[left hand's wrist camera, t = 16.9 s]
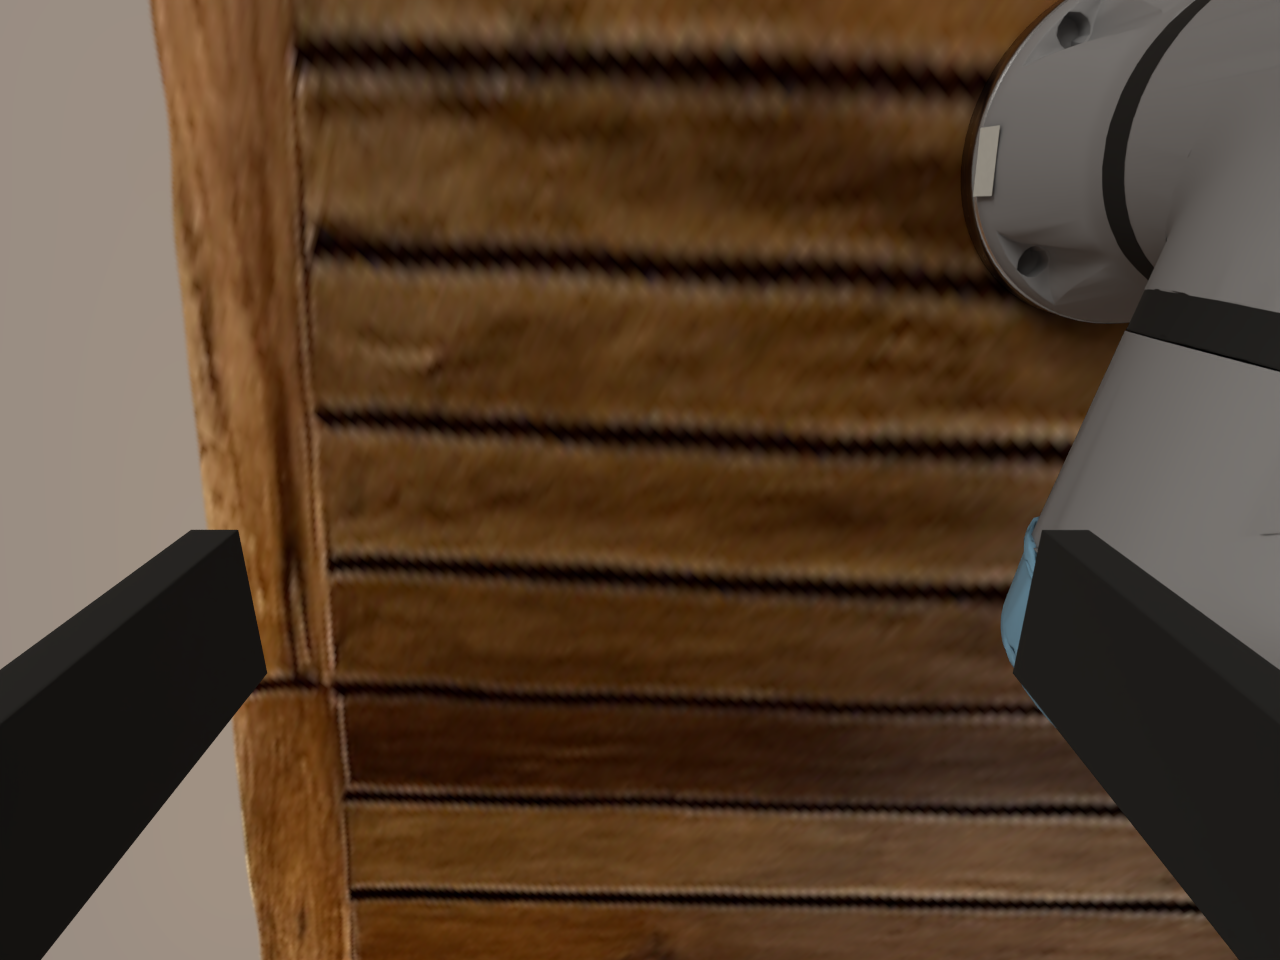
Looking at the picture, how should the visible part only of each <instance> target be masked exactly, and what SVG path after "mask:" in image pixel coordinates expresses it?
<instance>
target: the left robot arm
mask: <svg viewBox="0 0 1280 960" xmlns="http://www.w3.org/2000/svg"><path fill="white" fill-rule="evenodd" d="M961 195H962V205H963V210H964V216H965V221H966V224H967V227H968V231H969V234H970V237H971V239H972V241H973V244H974V246H975V248H976V250H977V252H978V254H979V256H980V257H981V259H982V261H983V263H984V264H985V265H986V267H987V268H988V270H989V271H990V272H991V274H992V275H993V276H994V277H995V278H996V279H997V280H998V281H999V282H1000V284H1001V285H1003V286H1004V287H1005V288H1006V289H1007V290H1008V291H1010V292H1011V293H1012V294H1013V295H1015V296H1016V297H1018V298H1019V299H1021V300H1022V301H1024V302H1026V303H1028V304H1030V305H1031V306H1033V307H1035V308H1038V309H1040V310H1043V311H1046V312H1048V313H1052V314H1055V315H1059V316H1063V317H1066V318H1070V319H1074V320H1078V321H1084V322H1090V323H1104V324H1112V323H1127V322H1130V323H1129V325H1128V327H1127V329H1126V330H1129V331H1131V332H1129V331H1125V332H1124V334H1123V336H1122V338H1121V341H1120V343H1119V345H1118V347H1117V349H1116V352H1115V354H1114V356H1113V358H1112V360H1111V362H1110V365H1109V367H1108V369H1107V371H1106V373H1105V375H1104V378H1103V380H1102V382H1101V384H1100V386H1099V388H1098V391H1097V393H1096V395H1095V397H1094V399H1093V402H1092V404H1091V406H1090V408H1089V410H1088V412H1087V415H1086V417H1085V419H1084V421H1083V423H1082V425H1081V428H1080V430H1079V432H1078V434H1077V436H1076V438H1075V441H1074V443H1073V445H1072V447H1071V449H1070V451H1069V454H1068V456H1067V458H1066V460H1065V462H1064V465H1063V467H1062V469H1061V471H1060V473H1059V475H1058V478H1057V480H1056V482H1055V484H1054V486H1053V488H1052V491H1051V493H1050V495H1049V497H1048V499H1047V501H1046V504H1045V506H1044V508H1043V510H1042V512H1041V515H1040V516H1039V517H1036V518H1034V519H1033V520H1032V522H1031V523H1030V525H1029V526H1028V528H1027V531H1026V534H1025V538H1024V553H1023V556H1022V558H1021V561H1020V563H1019V566H1018V569H1017V571H1016V574H1015V576H1014V579H1013V582H1012V584H1011V587H1010V589H1009V592H1008V595H1007V597H1006V600H1005V602H1004V605H1003V610H1002V614H1001V635H1002V641H1003V645H1004V647H1005V650H1006V653H1007V655H1008V658H1009V661H1010V663H1011V664H1012V666H1013V667H1014V670H1013V674H1014V675H1015V677H1016V678H1017V679H1018V680H1019V682H1020V683H1021V684H1022V686H1023V688H1024V689H1025V691H1026V692H1027V694H1028V695H1029V696H1030V698H1031V699H1032V701H1033V702H1034V703H1035V704H1036V706H1037V707H1038V708H1039V709H1040V711H1041V712H1042V713H1043V714H1044V715H1045V716H1046V718H1047V719H1048V720H1049V721H1050V722H1051V723H1052V724H1053V725H1054V726H1055V728H1056V729H1057V730H1058V731H1059V732H1060V734H1061V735H1062V736H1063V737H1064V739H1065V740H1066V741H1067V742H1068V744H1069V745H1070V746H1071V747H1072V749H1073V750H1074V751H1075V753H1076V754H1077V755H1078V756H1079V758H1080V759H1081V760H1082V761H1083V763H1084V764H1085V765H1086V766H1087V768H1088V769H1089V770H1090V772H1091V773H1092V774H1093V775H1094V777H1095V778H1096V779H1097V780H1098V782H1099V783H1100V784H1101V785H1102V787H1103V788H1104V789H1105V791H1106V792H1107V793H1108V794H1109V796H1110V797H1111V798H1112V799H1113V801H1114V802H1115V803H1116V804H1117V806H1118V807H1119V808H1120V810H1121V811H1122V812H1123V813H1124V815H1125V816H1126V817H1127V818H1128V820H1129V821H1130V822H1131V823H1132V825H1133V826H1134V827H1135V828H1136V830H1137V831H1138V832H1139V834H1140V835H1141V836H1142V837H1143V839H1144V840H1145V841H1146V842H1147V844H1148V845H1149V846H1150V847H1151V849H1152V850H1153V851H1154V853H1155V854H1156V855H1157V856H1158V858H1159V859H1160V860H1161V861H1162V863H1163V864H1164V865H1165V866H1166V868H1167V869H1168V870H1169V872H1170V873H1171V874H1172V875H1173V877H1174V878H1175V879H1176V880H1177V882H1178V883H1179V884H1180V885H1181V887H1182V888H1183V889H1184V891H1185V892H1186V893H1187V894H1188V896H1189V897H1190V898H1191V899H1192V901H1193V902H1194V903H1195V904H1196V906H1197V907H1198V908H1199V910H1200V911H1201V912H1202V913H1203V915H1204V916H1205V917H1206V918H1207V920H1208V921H1209V922H1210V923H1211V925H1212V926H1213V927H1214V929H1215V930H1216V931H1217V932H1218V934H1219V935H1220V936H1221V937H1222V939H1223V940H1224V941H1225V942H1226V944H1227V945H1228V946H1229V948H1230V949H1231V950H1232V951H1233V953H1234V954H1235V955H1236V956H1237V958H1238V959H1239V960H1280V0H1059V1H1057V2H1056V3H1055V4H1053V5H1052V6H1051V7H1049V8H1048V9H1047V10H1045V11H1044V12H1043V13H1042V14H1041V15H1040V16H1039V17H1038V18H1036V19H1035V20H1034V21H1033V22H1032V23H1031V24H1030V25H1029V26H1028V27H1027V28H1026V29H1025V30H1024V31H1023V32H1022V33H1021V34H1020V35H1019V37H1018V38H1017V39H1016V40H1015V41H1014V43H1013V44H1012V45H1011V46H1010V48H1009V49H1008V50H1007V51H1006V53H1005V54H1004V55H1003V57H1002V58H1001V60H1000V61H999V63H998V64H997V66H996V67H995V69H994V70H993V72H992V74H991V76H990V77H989V79H988V81H987V83H986V84H985V86H984V89H983V91H982V93H981V95H980V97H979V99H978V101H977V104H976V107H975V109H974V112H973V115H972V118H971V120H970V124H969V128H968V131H967V135H966V139H965V144H964V150H963V155H962V166H961ZM1170 341H1171V342H1170ZM1174 342H1175V343H1174ZM1178 343H1179V344H1178ZM1182 344H1183V345H1182ZM1186 345H1187V346H1186ZM266 674H267V670H266V665H265V660H264V655H263V650H262V645H261V640H260V635H259V630H258V625H257V621H256V616H255V611H254V606H253V601H252V596H251V591H250V586H249V581H248V576H247V571H246V566H245V561H244V557H243V552H242V547H241V542H240V537H239V532H238V530H190V531H189V532H188V533H186V534H185V535H184V536H182V537H181V538H179V539H178V540H177V541H175V542H174V543H173V544H171V545H170V546H169V547H167V548H166V549H164V550H163V551H162V552H160V553H159V554H158V555H156V556H155V557H154V558H152V559H151V560H149V561H148V562H147V563H145V564H144V565H143V566H141V567H140V568H138V569H137V570H136V571H134V572H133V573H132V574H130V575H129V576H128V577H126V578H125V579H124V580H122V581H121V582H119V583H118V584H117V585H115V586H114V587H113V588H111V589H110V590H109V591H107V592H106V593H104V594H103V595H102V596H100V597H99V598H98V599H96V600H95V601H93V602H92V603H91V604H89V605H88V606H87V607H85V608H84V609H83V610H81V611H80V612H78V613H77V614H76V615H74V616H73V617H72V618H70V619H69V620H68V621H66V622H65V623H63V624H62V625H61V626H59V627H58V628H57V629H55V630H54V631H53V632H51V633H50V634H48V635H47V636H46V637H44V638H43V639H42V640H40V641H39V642H38V643H36V644H35V645H33V646H32V647H31V648H29V649H28V650H27V651H25V652H24V653H22V654H21V655H20V656H18V657H17V658H16V659H14V660H13V661H12V662H10V663H9V664H8V665H6V666H5V667H3V668H2V669H1V670H0V960H41V959H42V958H43V956H44V955H45V954H46V953H47V951H48V950H49V949H50V947H51V946H52V945H53V944H54V942H55V941H56V940H57V939H58V937H59V936H60V935H61V934H62V932H63V931H64V930H65V929H66V927H67V926H68V925H69V923H70V922H71V921H72V920H73V918H74V917H75V916H76V915H77V913H78V912H79V911H80V909H81V908H82V907H83V906H84V904H85V903H86V902H87V901H88V899H89V898H90V897H91V896H92V894H93V893H94V892H95V891H96V889H97V888H98V887H99V885H100V884H101V883H102V882H103V880H104V879H105V878H106V877H107V875H108V874H109V873H110V872H111V870H112V869H113V868H114V866H115V865H116V864H117V863H118V861H119V860H120V859H121V858H122V856H123V855H124V854H125V852H126V851H127V850H128V849H129V847H130V846H131V845H132V844H133V842H134V841H135V840H136V839H137V837H138V836H139V835H140V834H141V832H142V831H143V830H144V828H145V827H146V826H147V825H148V823H149V822H150V821H151V820H152V818H153V817H154V816H155V815H156V813H157V812H158V811H159V810H160V808H161V807H162V806H163V804H164V803H165V802H166V801H167V799H168V798H169V797H170V796H171V794H172V793H173V792H174V790H175V789H176V788H177V787H178V785H179V784H180V783H181V782H182V780H183V779H184V778H185V777H186V775H187V774H188V773H189V772H190V770H191V769H192V768H193V766H194V765H195V764H196V763H197V761H198V760H199V759H200V757H201V756H202V755H203V754H204V752H205V751H206V750H207V749H208V747H209V746H210V745H211V744H212V742H213V741H214V740H215V739H216V737H217V736H218V735H219V734H220V732H221V731H222V730H223V728H224V727H225V726H226V725H227V723H228V722H229V721H230V720H231V718H232V717H233V716H234V715H235V713H236V712H237V711H238V709H239V708H240V707H241V706H242V704H243V703H244V702H245V701H246V699H247V698H248V697H249V696H250V694H251V693H252V692H253V690H254V689H255V688H256V687H257V685H258V684H259V683H260V682H261V680H262V679H263V678H264V677H265V675H266Z"/></svg>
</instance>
